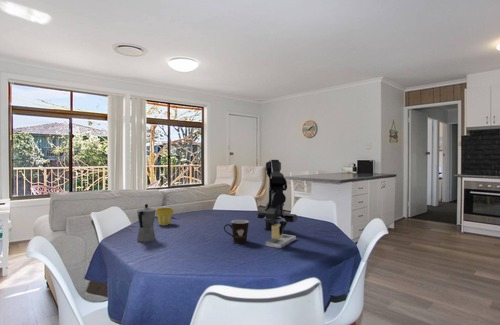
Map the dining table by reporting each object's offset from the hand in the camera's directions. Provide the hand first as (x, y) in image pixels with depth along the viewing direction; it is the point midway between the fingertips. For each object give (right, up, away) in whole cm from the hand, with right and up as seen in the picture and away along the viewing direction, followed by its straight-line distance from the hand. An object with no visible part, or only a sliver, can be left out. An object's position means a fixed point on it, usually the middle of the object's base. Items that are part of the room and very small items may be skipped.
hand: (276, 234), depth 140 cm
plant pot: (-67, -5, +43) cm, 80 cm away
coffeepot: (-65, -5, +7) cm, 66 cm away
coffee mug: (-19, -5, +6) cm, 21 cm away
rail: (+3, -5, +4) cm, 7 cm away
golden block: (0, -2, 0) cm, 2 cm away
